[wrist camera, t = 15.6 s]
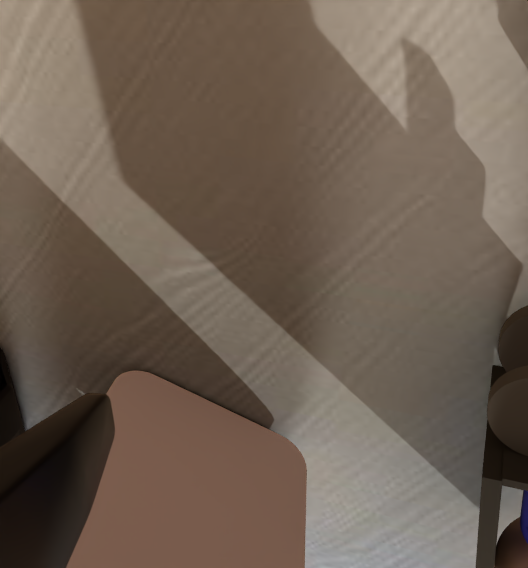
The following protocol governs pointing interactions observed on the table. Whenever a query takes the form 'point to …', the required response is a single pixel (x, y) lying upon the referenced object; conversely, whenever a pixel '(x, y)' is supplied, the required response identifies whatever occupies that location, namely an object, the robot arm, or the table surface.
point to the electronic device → (192, 487)
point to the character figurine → (506, 450)
